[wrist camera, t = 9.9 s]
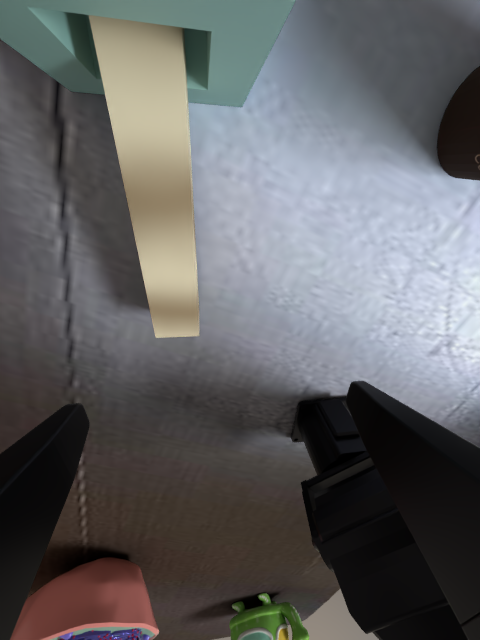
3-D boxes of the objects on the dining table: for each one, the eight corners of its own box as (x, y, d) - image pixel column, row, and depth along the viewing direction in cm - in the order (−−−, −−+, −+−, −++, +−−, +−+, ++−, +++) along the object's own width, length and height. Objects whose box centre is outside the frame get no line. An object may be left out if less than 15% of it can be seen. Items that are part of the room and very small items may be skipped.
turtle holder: (303, 593, 62) (323, 674, 52) (238, 614, 63) (245, 698, 53) (291, 581, 56) (312, 670, 46) (220, 605, 57) (224, 697, 47)
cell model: (4, 556, 33) (-79, 711, 23) (151, 527, 35) (132, 658, 25) (56, 594, 42) (12, 720, 32) (174, 569, 43) (166, 680, 34)
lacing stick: (199, 311, 20) (199, 336, 17) (161, 312, 19) (155, 338, 17) (170, -224, 7) (157, -391, 5) (62, -254, 7) (-9, -452, 4)
